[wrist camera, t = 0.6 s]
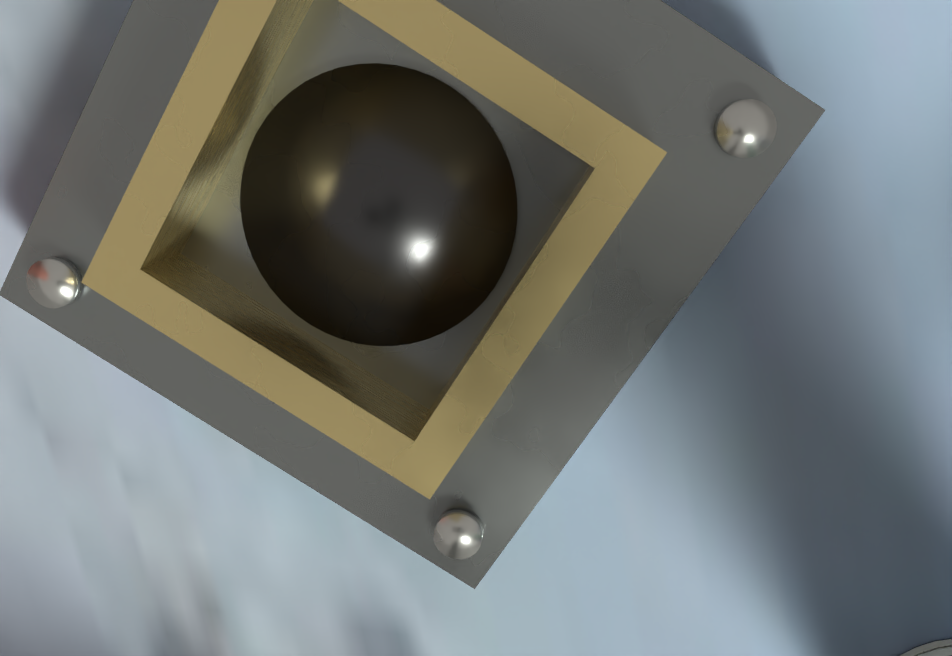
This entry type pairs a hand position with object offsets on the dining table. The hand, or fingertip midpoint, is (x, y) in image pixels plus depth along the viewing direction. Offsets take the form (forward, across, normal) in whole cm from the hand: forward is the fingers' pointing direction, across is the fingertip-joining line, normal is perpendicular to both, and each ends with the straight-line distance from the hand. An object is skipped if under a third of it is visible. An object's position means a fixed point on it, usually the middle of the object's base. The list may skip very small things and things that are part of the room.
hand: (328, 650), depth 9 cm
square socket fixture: (+14, +2, +1) cm, 14 cm away
